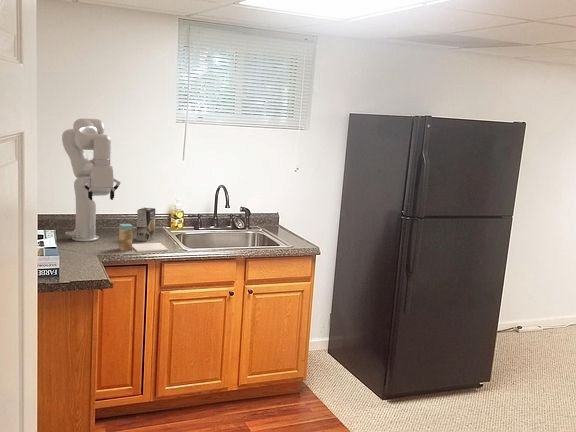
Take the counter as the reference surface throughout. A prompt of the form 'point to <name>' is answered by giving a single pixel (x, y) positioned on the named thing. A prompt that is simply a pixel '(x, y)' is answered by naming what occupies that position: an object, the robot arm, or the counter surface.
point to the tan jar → (125, 237)
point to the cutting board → (149, 247)
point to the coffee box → (145, 224)
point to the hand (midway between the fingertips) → (101, 199)
